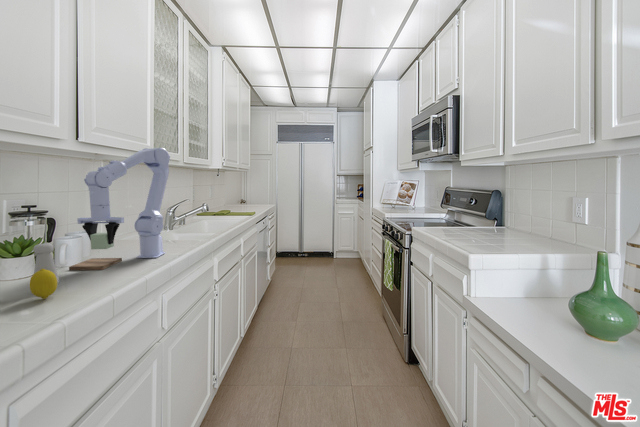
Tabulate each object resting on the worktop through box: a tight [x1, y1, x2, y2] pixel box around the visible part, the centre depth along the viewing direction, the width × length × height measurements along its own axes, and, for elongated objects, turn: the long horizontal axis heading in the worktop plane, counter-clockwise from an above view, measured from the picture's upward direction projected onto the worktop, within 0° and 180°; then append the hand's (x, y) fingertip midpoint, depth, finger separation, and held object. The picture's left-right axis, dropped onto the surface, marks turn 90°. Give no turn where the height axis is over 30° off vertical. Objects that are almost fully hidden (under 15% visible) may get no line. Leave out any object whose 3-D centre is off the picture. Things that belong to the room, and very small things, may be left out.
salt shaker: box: [33, 242, 60, 286], centre depth 94 cm, size 6×6×13 cm
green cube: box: [89, 232, 115, 250], centre depth 119 cm, size 5×5×5 cm
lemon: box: [29, 269, 58, 300], centre depth 87 cm, size 6×6×8 cm
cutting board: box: [68, 257, 123, 271], centre depth 122 cm, size 13×11×1 cm
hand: (102, 243), depth 119 cm, fingers closed on green cube, 5 cm apart
